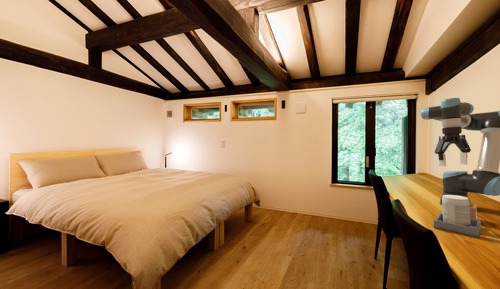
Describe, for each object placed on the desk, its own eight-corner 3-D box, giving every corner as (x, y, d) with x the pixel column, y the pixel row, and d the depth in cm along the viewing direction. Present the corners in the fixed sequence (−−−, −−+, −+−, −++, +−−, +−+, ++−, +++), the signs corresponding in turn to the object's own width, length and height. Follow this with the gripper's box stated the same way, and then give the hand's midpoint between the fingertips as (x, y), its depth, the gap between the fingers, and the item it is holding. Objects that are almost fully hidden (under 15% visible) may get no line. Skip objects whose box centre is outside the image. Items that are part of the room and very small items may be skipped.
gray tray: (439, 220, 110) (439, 213, 110) (480, 228, 99) (480, 220, 99) (433, 228, 101) (433, 220, 101) (479, 238, 89) (479, 229, 89)
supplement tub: (472, 227, 98) (471, 197, 98) (468, 232, 93) (467, 200, 93) (445, 221, 106) (445, 193, 106) (440, 225, 101) (439, 196, 101)
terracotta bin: (450, 216, 116) (450, 200, 116) (477, 221, 108) (476, 204, 108) (448, 220, 110) (448, 204, 110) (475, 226, 102) (475, 208, 102)
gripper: (462, 126, 116) (464, 162, 116) (424, 128, 113) (426, 166, 113) (479, 125, 108) (481, 164, 108) (439, 127, 105) (441, 167, 105)
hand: (453, 165), depth 111 cm, fingers open, 13 cm apart
